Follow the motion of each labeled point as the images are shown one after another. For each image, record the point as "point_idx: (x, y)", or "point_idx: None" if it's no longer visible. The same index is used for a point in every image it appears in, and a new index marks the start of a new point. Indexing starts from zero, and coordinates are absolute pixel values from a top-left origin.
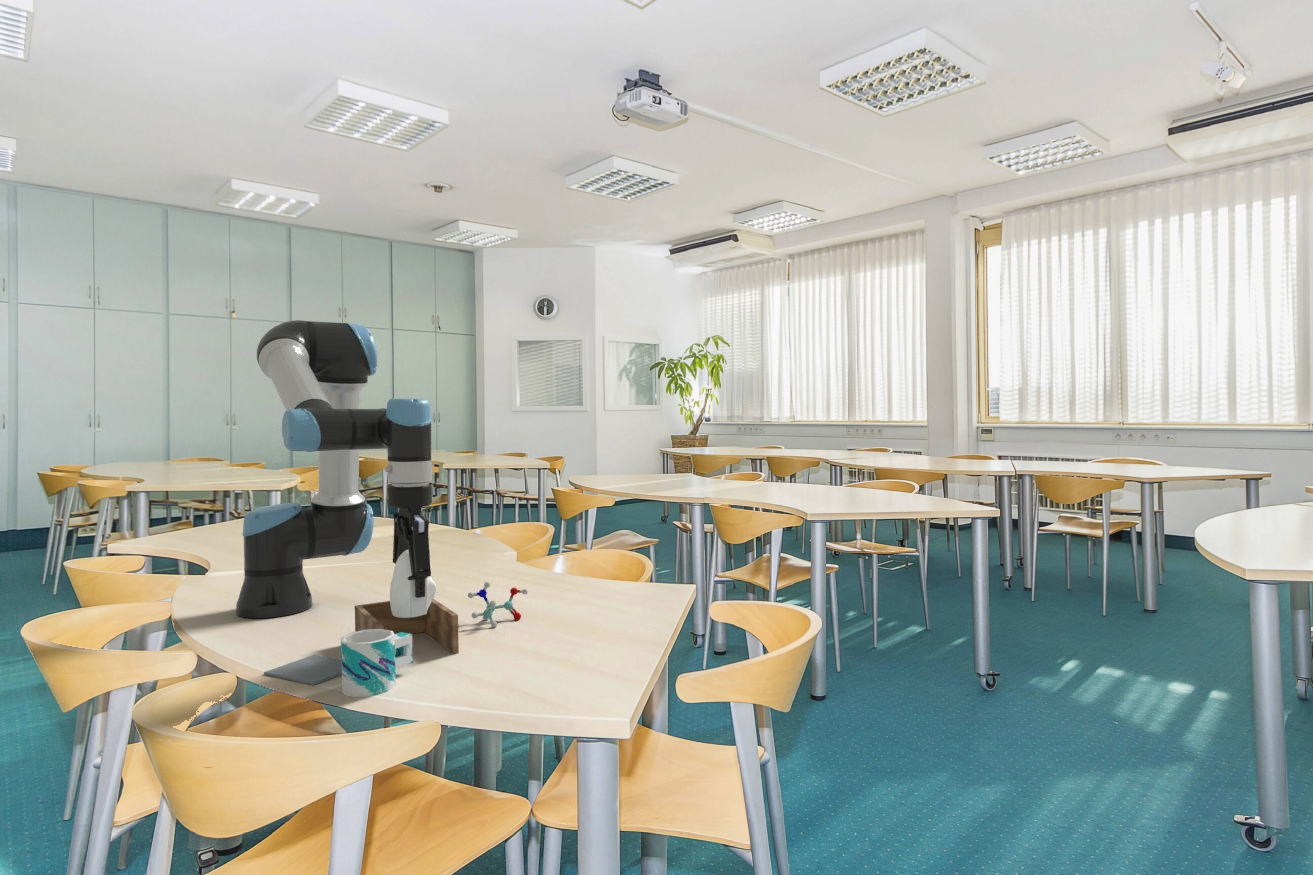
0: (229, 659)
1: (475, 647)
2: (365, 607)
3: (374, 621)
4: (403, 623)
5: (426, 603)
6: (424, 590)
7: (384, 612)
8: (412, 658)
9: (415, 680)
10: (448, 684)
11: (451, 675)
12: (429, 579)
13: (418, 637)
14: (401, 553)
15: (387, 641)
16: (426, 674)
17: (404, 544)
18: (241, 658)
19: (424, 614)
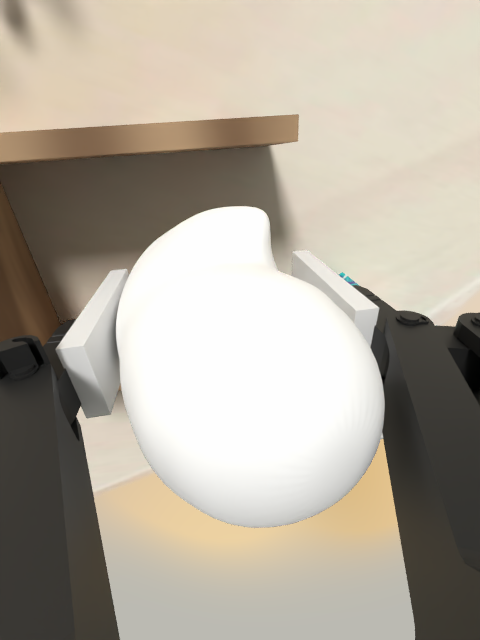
0: (99, 492)
1: (241, 53)
2: None
3: None
4: (2, 243)
5: (320, 262)
6: (376, 298)
7: (4, 315)
8: (347, 276)
9: (379, 268)
10: (446, 216)
11: (406, 196)
12: (271, 261)
13: (59, 199)
14: (88, 497)
15: None
16: (363, 243)
17: (96, 582)
18: (100, 482)
19: None
